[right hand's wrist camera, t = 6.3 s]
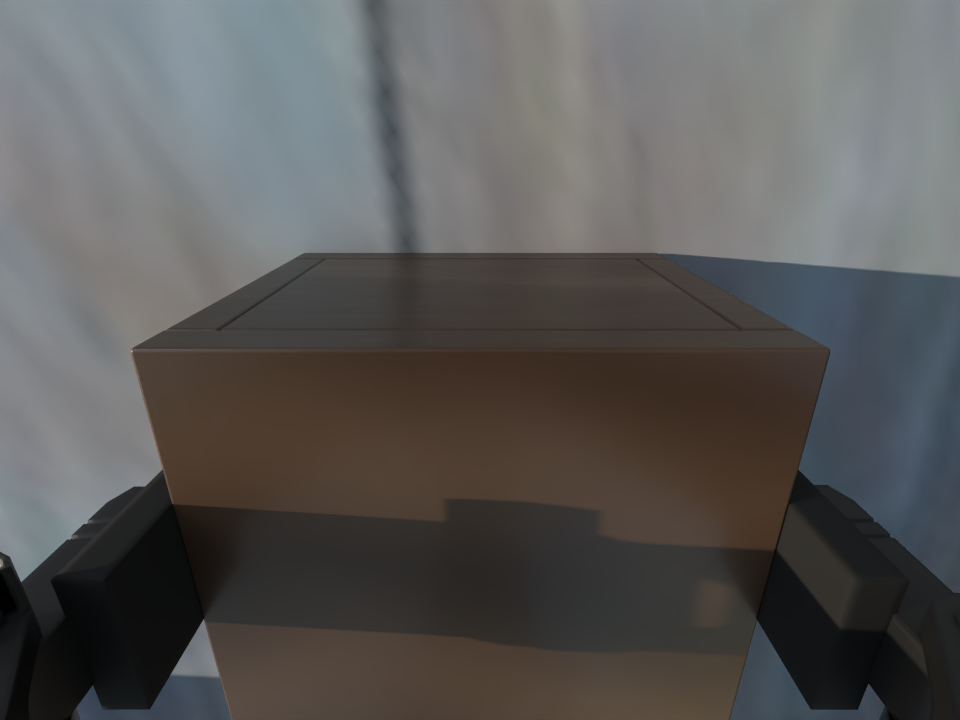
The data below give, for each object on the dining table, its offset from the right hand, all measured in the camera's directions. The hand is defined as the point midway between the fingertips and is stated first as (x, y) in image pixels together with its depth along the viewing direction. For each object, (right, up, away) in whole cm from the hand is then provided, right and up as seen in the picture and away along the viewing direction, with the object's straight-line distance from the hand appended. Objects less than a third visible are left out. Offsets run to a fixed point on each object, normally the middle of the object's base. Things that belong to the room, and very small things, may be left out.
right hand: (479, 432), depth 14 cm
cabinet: (0, -5, +6) cm, 7 cm away
